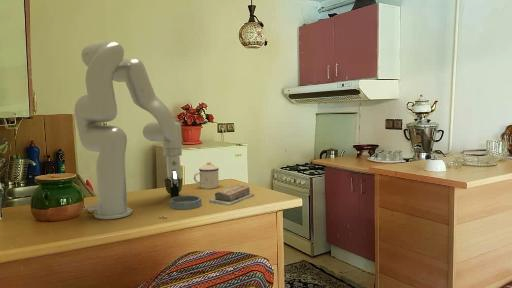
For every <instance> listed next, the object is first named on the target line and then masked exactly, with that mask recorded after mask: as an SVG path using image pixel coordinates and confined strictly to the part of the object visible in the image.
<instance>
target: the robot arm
mask: <svg viewBox="0 0 512 288" xmlns="http://www.w3.org/2000/svg"><path fill="white" fill-rule="evenodd" d="M80 57H81V60H82V62H83V63H84V65H85V66H86V67H87V69H86V72H85V77H84V78H85V86H86V87H85V88H86V94H84V95H83V96H80V97H79V98H78V99H77V100H76V102H75V105H74V109H73V110H74V117H75V124H76V127H77V133H78V136H79V140H80V143H81V145H82V146H83V148H84V149H85V150H88V151H89V152H94V153H95V152H96V153H98V156H97V159H96V163H95V164H96V165H95V166H96V170H95V171H96V183H97V185H96V186H97V203H94V204H86V205H84V211H85V212H89V213H90V212H94V213H93V214H94V216H93V217H94V218H96V219H99V220H116V219H121V218H126V217H128V216H130V215H132V213H133V209H132V208H130V207H128V198H127V197H128V195H127V194H128V193H127V176H126V175H127V174H126V152H127V151H126V150H127V143H128V137H127V134H126V133H125V131H124V130H123V129H122V128H121V127H119V126H116V125H110V124H109V125H103V123H107V122H111V121H113V120H115V119H116V118H117V115H118V106H117V101H116V100H117V99H116V95H115V89H114V82H116V83H117V82H118V83H122V82H123V83H125V85H126V88H127V89H128V92H129V95H130V97H131V99H132V102H133V103H134V104H135V105H136V106H137V107H139V108H140V109H142V110H145V112H148V113H149V114H150V115H151V116H152V117H154V119H155V120H156V122H148V123H147V124H146V125H144V127H143V128H142V135H143V138H144V139H146V140H147V141H150V142H158V143H159V142H161V143H162V150H163V151H162V155H163V157H165V160H166V172H167V173H166V174H167V178H168V179H169V180H171V197H176V196H180V192H179V186H178V179H179V180H181V179H182V171H181V170H182V169H181V158H180V157H181V156H183V152H182V151H183V149H182V125H181V123H180V122H177V121H175V117H174V115H173V114H172V112H171V110H170V109H169V108H168V107H167V105H166V104H165V103H164V102H163V101H162V100H161V99H160V98H159V97H158V96H157V95H156V93H155V91H154V88H153V86H152V83H151V79H150V78H149V74H148V72H147V69H146V67H145V65H144V63H143V61H142V60H141V59H139V58H135V57H128V58H124V57H125V49H124V47H123V45H122V44H121V43H119V42H117V41H112V40H111V41H102V42H97V43H91V44H88V45H86V46H85V47H84V48H83V49H82V51H81V55H80ZM172 181H173V182H172ZM171 197H170V198H171Z"/></svg>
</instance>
